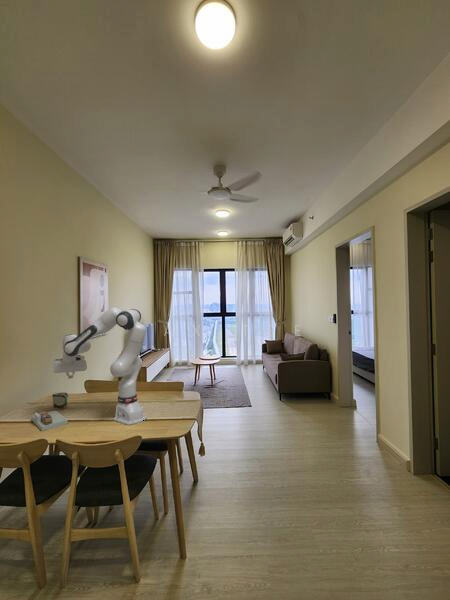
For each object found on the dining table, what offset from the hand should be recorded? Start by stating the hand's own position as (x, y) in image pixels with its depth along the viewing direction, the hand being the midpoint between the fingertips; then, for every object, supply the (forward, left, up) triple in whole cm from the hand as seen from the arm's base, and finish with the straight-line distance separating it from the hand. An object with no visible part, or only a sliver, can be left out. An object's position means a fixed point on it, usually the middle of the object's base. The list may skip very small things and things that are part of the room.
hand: (70, 378), depth 195 cm
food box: (-2, +14, -25) cm, 28 cm away
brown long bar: (-4, +17, -22) cm, 28 cm away
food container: (+21, -1, -25) cm, 33 cm away
